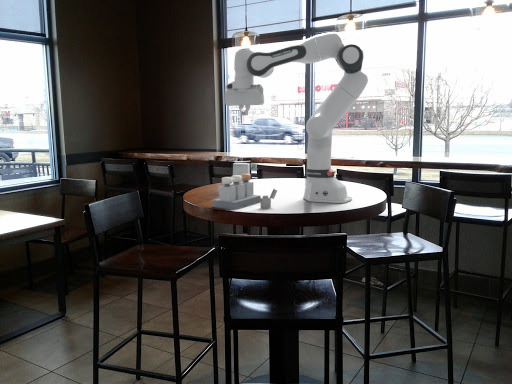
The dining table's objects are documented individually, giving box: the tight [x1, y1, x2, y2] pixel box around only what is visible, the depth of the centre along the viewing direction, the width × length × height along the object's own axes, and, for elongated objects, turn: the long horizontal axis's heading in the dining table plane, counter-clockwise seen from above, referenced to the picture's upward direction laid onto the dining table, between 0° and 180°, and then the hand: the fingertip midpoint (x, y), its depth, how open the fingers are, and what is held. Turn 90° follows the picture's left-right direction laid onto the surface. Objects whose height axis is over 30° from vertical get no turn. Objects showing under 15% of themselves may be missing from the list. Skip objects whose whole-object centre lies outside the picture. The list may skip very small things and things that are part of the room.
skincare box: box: [232, 162, 251, 184], centre depth 233 cm, size 8×6×15 cm
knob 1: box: [221, 176, 233, 187], centre depth 190 cm, size 4×4×9 cm
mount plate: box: [211, 181, 262, 211], centre depth 196 cm, size 12×20×9 cm, turn 147°
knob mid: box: [231, 174, 242, 185], centre depth 196 cm, size 4×4×9 cm
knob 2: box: [241, 173, 252, 183], centre depth 201 cm, size 4×4×9 cm
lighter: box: [260, 188, 278, 209], centre depth 188 cm, size 7×2×8 cm, turn 105°
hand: (244, 115), depth 208 cm, fingers closed
